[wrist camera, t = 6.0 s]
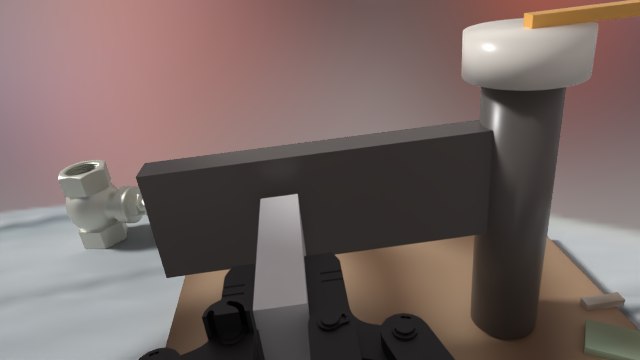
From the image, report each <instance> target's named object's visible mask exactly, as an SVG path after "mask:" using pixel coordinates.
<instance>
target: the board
mask: <svg viewBox="0 0 640 360" xmlns="http://www.w3.org/2000/svg"><path fill="white" fill-rule="evenodd" d="M473 247H474V235H473V236H466V237H459V238H452V239H444V240H437V241H430V242H423V243H415V244H408V245H401V246H394V247H387V248H379V249H372V250H365V251H358V252H350V253H343V254H336V255H335V256H336V257H337V258H338V259H339V260H340V264H341V269H342V273H343V279H344V283H345V288H346V293H347V298H348V302H349V307H350V310H351V312H352V314H353V315H354V316H355V317H356V318H358V319H359V320H361V321H363V322H366V323H371V324H378V325H382V323H383V322H384V321H385V320H386V318H388V317H390V316H392V315H395V314H400V313H406V314H413V315H415V316H418V317H420V318H421V319H422V320H424V321H425V322H426V323H427V324H428V326H429V327H430V328H431V330H432V331H433V332H434V333H435V335H436V336H437V337H438V338H439V340H440V341H441V342H442V344H443V345H444V346H445V347H446V349H447V350H448V351H449V353H450V354H451V355H452V356H453V358H454V359H455V360H640V330H639V329H638V328H637V327H636V326H635V325H634V324H633V323H632V322H631V321H630V320H629V319H628V318H627V317H626V316H625V315H624V314H623V313H622V312H621V311H620V310H619V309H618V308H617V307H618V306H624V302H625V299H624V298H623V297H622V296H621V295H620V294H619V293H618V292H616V293H610V294H603V293H602V292H601V291H600V290H599V289H598V288H597V287H596V286H595V285H594V283H593V282H592V281H591V280H590V279H589V278H588V277H587V276H586V275H585V274H584V273H583V272H582V271H581V270H580V269H579V268H578V267H577V266H576V265H575V264H574V263H573V262H572V261H571V260H570V259H569V258H568V257H567V256H566V255H565V254H564V253H563V252H562V251H561V250H560V249H559V248H558V247H557V246H556V245H555V244H554V243H553V242H552V241H551V240H550V239H549V238H548V237H547V240H546V248H545V256H544V263H543V271H542V279H541V287H540V295H539V302H538V310H537V318H536V325H535V328H534V329H533V331H532V332H531V333H530V334H528V335H526V336H524V337H521V338H516V339H504V338H498V337H495V336H492V335H490V334H487V333H485V332H484V331H482V330H481V329H479V328H478V327H477V326H476V325H475V323H474V322H473V320H472V318H471V314H470V310H471V289H472V268H473ZM229 270H230V269H228V270H220V271H213V272H206V273H199V274H192V275H186V276H185V279H184V283H183V287H182V290H181V294H180V297H179V301H178V304H177V308H176V312H175V315H174V319H173V322H172V326H171V329H170V333H169V337H168V340H167V344H166V347H165V348H171V349H175V350H176V351H177V352H178V353H179V354H180V355H183V354H185V353H188V352H190V351H193V350H195V349H197V348H199V347H201V346H202V345H204V344H205V343H207V342H208V338H207V334H206V331H205V327H204V324H203V320H202V316H203V313H204V311H205V310H206V309H207V308H208V307H209V306H210V305H212V304H213V303H215V302H217V301H219V300H221V298H222V290H223V284H224V278H225V276H226V274H227V273H228V272H229Z"/></svg>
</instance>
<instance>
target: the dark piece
mask: <svg viewBox="0 0 640 360" xmlns="http://www.w3.org/2000/svg"><path fill="white" fill-rule="evenodd" d="M632 16H640V0H629V1H621V2H612V3H604V4H597V5H588V6H580V7H571V8H563V9H556V10H547V11H540V12H530V13H525V14H524V18H521V19H508V20H499V21H492V22H486V23H482V24H477V25H473V26H470V27H468V28H466V29H464V30H463V44H462V78H463V80H465V81H466V82H468V83H470V84H473V85H476V86H480V87H481V100H480V120H475V121H467V122H459V123H451V124H444V125H436V126H428V127H421V128H413V129H405V130H398V131H390V132H382V133H375V134H367V135H359V136H352V137H344V138H336V139H328V140H321V141H313V142H305V143H297V144H290V145H282V146H275V147H267V148H259V149H252V150H244V151H236V152H228V153H221V154H213V155H205V156H197V157H190V158H182V159H174V160H167V161H159V162H151V163H145V164H144V165H143V167H142V168H141V170H140V172H139V173H138V175H137V176H136V179H137V183H138V186H139V189H140V192H141V196H142V199H143V202H144V205H145V209H146V212H147V215H148V218H149V222H150V225H151V228H152V231H153V235H154V238H155V241H156V244H157V248H158V251H159V254H160V257H161V261H162V264H163V267H164V270H165V274H166V277H167V278H170V277H177V276H184V275H192V274H199V273H206V272H213V271H220V270H228V269H231V268H232V267H234V266H241V265H248V264H256V257H257V242H258V227H259V213H260V199H263V198H270V197H278V196H286V195H293V194H298V200H299V207H300V214H301V221H302V228H303V235H304V242H305V249H306V256H308V255H315V254H323V253H330V252H332V253H333V254H334V255H336V254H343V253H350V252H358V251H365V250H372V249H379V248H387V247H394V246H401V245H408V244H415V243H423V242H430V241H437V240H444V239H452V238H459V237H466V236H473V235H474V247H473V268H472V289H471V310H470V314H471V318H472V320H473V322H474V323H475V325H476V326H477V327H478V328H479V329H481V330H482V331H484V332H485V333H487V334H490V335H492V336H495V337H498V338H504V339H516V338H521V337H524V336H526V335H528V334H530V333H531V332H532V331H533V329H534V328H535V325H536V318H537V310H538V302H539V295H540V287H541V279H542V271H543V263H544V256H545V248H546V240H547V232H548V225H549V217H550V209H551V200H552V193H553V186H554V177H555V170H556V162H557V155H558V147H559V139H560V131H561V124H562V116H563V107H564V100H565V91H566V87H569V86H573V85H576V84H579V83H582V82H584V81H587V80H588V79H589V78H590V77H591V73H592V67H593V60H594V54H595V47H596V40H597V34H598V26H599V25H598V24H597V23H595V22H592V21H600V20H609V19H617V18H624V17H632Z"/></svg>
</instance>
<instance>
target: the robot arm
mask: <svg viewBox="0 0 640 360" xmlns="http://www.w3.org/2000/svg"><path fill="white" fill-rule="evenodd" d="M202 320H203V324H204V327H205V331H206V334H207V338H208V342H207V343H205V344H204V345H202V346H201V347H199V348H197V349H195V350H193V351H190V352H188V353H185V354H183V355H180V354H179V353H178V352H177V351H176V350H175V349H171V348H158V349H155V350H153V351H150V352H148V353H146V354H145V355H143V356H142V357H141V358H139V360H455V359H454V358H453V356H452V355H451V354H450V353H449V351H448V350H447V349H446V347H445V346H444V345H443V344H442V342H441V341H440V340H439V338H438V337H437V336H436V335H435V333H434V332H433V331H432V330H431V328H430V327H429V326H428V324H427V323H426V322H425V321H424V320H422V319H421V318H420V317H418V316H415V315H413V314H406V313H400V314H395V315H392V316H390V317H388V318H386V320H385V321H384V322H383V323H382V325H378V324H371V323H366V322H363V321H361V320H359V319H358V318H356V317H355V316H354V315H353V314H352V312H351V310H350V307H349V302H348V298H347V293H346V288H345V283H344V279H343V273H342V269H341V264H340V260H339V259H338V258H337V257H336V256H335V255H334V254H333V253H332V252H330V253H323V254H315V255H308V256H306V249H305V242H304V235H303V228H302V221H301V214H300V207H299V200H298V194H293V195H286V196H278V197H270V198H263V199H260V213H259V227H258V242H257V257H256V264H248V265H241V266H234V267H232V268H231V269H230V270H229V272H228V273H227V274H226V276H225V278H224V284H223V290H222V298H221V300H219V301H217V302H215V303H213V304H212V305H210V306H209V307H208V308H207V309H206V310H205V311H204V313H203V316H202Z"/></svg>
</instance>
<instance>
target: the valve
mask: <svg viewBox="0 0 640 360" xmlns="http://www.w3.org/2000/svg"><path fill="white" fill-rule="evenodd" d="M58 180H59V183H60V185H61V188H62V190H63V193H64V196H65V197H67V199H66V210H67V214H68V216H69V218H70V219H71V221H72V222H73V223H74V224H75V225H76V226H77V227H79V228H80V230H79V234H80V237H81V239H82V242H83V245H84V247H85V248H86V249H106V248H109V247H111V246H112V245H114V244H116V243H118V242H120V241H122V240H124V239H126V238H127V225H126V223H137V222H138V221H139V220H140V219H141V218H142V216H143V215H145V214H146V215H147V212H146V209H145V205H144V202H143V199H142V196H141V192H140V189H139V188H138V187H135V186H126V187H125V186H123V187H121V188H119V189H117V188H116V187H115V186H114V185H113V184H112V183H111V182H110V180H111V177H110V174H109V171H108V168H107V165H106V162H105V161H101V160H89V161H83V162H79V163H76V164H73V165H71V166H68V167H66V168H65V169H63V170H62V171H61V172H60V173H59V178H58Z"/></svg>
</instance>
